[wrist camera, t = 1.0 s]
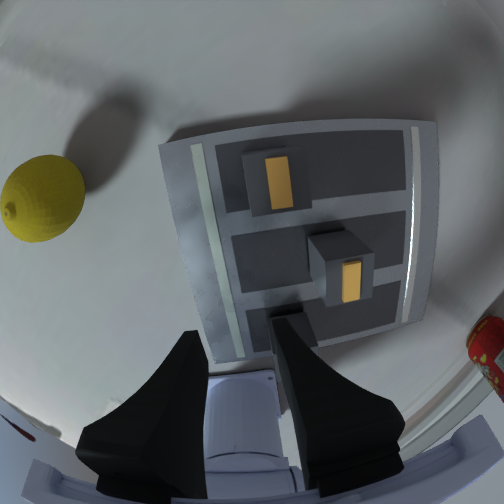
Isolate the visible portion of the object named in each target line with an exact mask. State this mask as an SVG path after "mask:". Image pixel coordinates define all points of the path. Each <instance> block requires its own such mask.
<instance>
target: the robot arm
mask: <svg viewBox="0 0 504 504" xmlns="http://www.w3.org/2000/svg"><path fill="white" fill-rule="evenodd" d="M272 327H273V334H274V341H275V348H276V355H277V361H278V367H279V372H280V376H281V379H282V382H283V386H284V389H285V393H286V396H287V399H288V403H289V406H290V409H291V413H292V417H293V422H294V428H295V433H296V439H297V444H298V450H299V456H300V462H301V467H302V470H300V469H299V468H298V467H297V466H289V462H288V457H283V450H282V443H281V437H280V430H279V424H278V421H279V420H281V411H280V405H279V398H278V391H277V385H276V378H275V372H274V370H271V369H269V370H262V371H255V372H248V373H240V374H231V375H222V376H212V377H209V369H208V359H207V357H206V354H205V351H204V348H203V345H202V342H201V339H200V336H199V333H198V330H193V331H184V333H183V334H182V335H181V337H180V338H179V340H178V341H177V343H176V344H175V346H174V347H173V349H172V350H171V351H170V353H169V354H168V356H167V357H166V358H165V360H164V361H163V363H162V364H161V365H160V366H159V368H158V369H157V370H156V371H155V373H154V374H153V375H152V376H151V377H150V379H149V380H148V381H147V382H146V383H145V384H144V385H143V386H142V387H141V388H140V389H139V390H138V391H137V392H136V393H135V394H133V395H132V396H131V397H130V398H129V399H127V400H126V401H125V402H124V403H123V404H121V405H120V406H119V407H117V408H116V409H115V410H113V411H112V412H110V413H109V414H107V415H106V416H104V417H102V418H101V419H99V420H97V421H95V422H93V423H92V424H90V425H88V426H86V427H84V428H83V431H82V433H81V436H80V439H79V442H78V445H77V448H76V450H75V453H76V455H77V457H78V459H79V460H81V461H82V462H83V463H84V464H85V465H86V466H88V467H89V468H90V469H91V470H93V471H94V472H96V473H97V474H98V475H99V478H98V482H97V484H93V483H90V482H86V481H82V480H79V479H76V478H73V477H70V476H66V475H64V474H62V473H61V472H60V471H59V470H57V469H56V468H55V467H53V466H51V465H49V464H47V463H44V462H41V461H39V460H37V459H33V462H32V464H31V467H30V470H29V473H28V476H27V479H26V482H25V485H24V488H23V491H22V494H21V497H22V498H23V499H25V500H26V501H28V502H30V503H31V504H439V503H441V502H443V501H445V500H446V499H448V498H450V497H451V496H453V495H455V494H456V493H458V492H460V491H461V490H463V489H464V488H466V487H467V486H469V485H470V484H472V483H473V482H475V481H476V480H477V479H479V478H480V477H481V476H482V475H484V474H485V473H486V472H488V471H489V470H490V469H491V468H492V467H494V466H495V465H496V464H497V463H498V462H499V461H501V460H502V459H503V458H504V450H503V449H502V447H501V445H500V443H499V442H498V440H497V438H496V437H495V435H494V433H493V432H492V430H491V428H490V427H489V425H488V423H487V422H486V420H485V419H484V417H483V416H482V415H479V416H477V417H476V418H474V419H472V420H471V421H469V422H468V423H466V424H464V425H463V426H461V427H460V428H459V429H458V430H457V431H456V432H454V434H453V435H452V437H451V439H449V440H447V441H445V442H443V443H442V444H440V445H438V446H436V447H434V448H432V449H430V450H428V451H426V452H424V453H421V454H419V455H417V456H415V457H413V458H410V459H408V460H406V461H403V462H402V460H401V457H400V455H399V453H398V452H399V451H400V447H399V445H398V442H397V440H398V439H399V437H400V435H401V433H402V432H403V430H404V427H405V421H404V419H403V417H402V415H401V413H400V412H399V410H398V409H397V407H396V406H395V405H394V403H393V402H392V401H391V400H389V399H386V398H383V397H381V396H378V395H376V394H373V393H371V392H369V391H367V390H365V389H363V388H361V387H359V386H358V385H356V384H355V383H353V382H351V381H350V380H348V379H346V378H345V377H343V376H342V375H340V374H339V373H338V372H336V371H335V370H334V369H332V368H331V367H330V366H329V365H327V364H326V363H325V362H324V361H323V360H322V359H320V358H319V357H318V356H317V355H316V354H315V353H314V352H313V351H312V350H311V349H310V348H309V346H308V345H307V344H306V343H305V342H304V341H303V340H302V338H301V337H300V336H299V335H298V333H297V332H296V331H295V329H294V328H293V327H292V325H291V323H290V322H289V320H288V319H287V318H286V317H284V318H279V319H273V320H272ZM205 407H206V408H205ZM204 415H205V423H204ZM203 426H204V439H203Z"/></svg>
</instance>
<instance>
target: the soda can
mask: <svg viewBox="0 0 504 504" xmlns="http://www.w3.org/2000/svg"><path fill="white" fill-rule="evenodd" d="M466 347H467V348H468V355H469V357H470V359H471V360H472V362H473V363H474V364H475V365H476V366H477V368H478V369H479V370H480V372H481V373H482V374H483V375H484V377H485V378H486V379H487V381H488V382H489V383H490V385H491V386H492V387H493V389H494V390H495V391H496V393H497V394H498V396H499V397H500V398H501V400H502V401H503V403H504V320H503V319H502V318H499V317H493V316H491V315H486V316H484V317H482V318H481V319H480V320H479V321H478V322H477V323H476V324H475V325H474V327H473V328H472V330H471V331H470V333H469V335H468V337H467V340H466Z"/></svg>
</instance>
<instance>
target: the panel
mask: <svg viewBox="0 0 504 504" xmlns="http://www.w3.org/2000/svg"><path fill="white" fill-rule="evenodd" d="M285 146H295V147H304V148H306V152H307V160H308V169H309V178H310V188H311V198H312V208H311V209H304V210H297V211H290V212H283V213H276V214H270V215H263V216H257V217H252V215H251V210H250V205H249V201H248V195H247V188H246V182H245V176H244V170H243V163H242V157H241V152H248V151H254V150H261V149H269V148H277V147H285ZM158 147H159V153H160V158H161V163H162V168H163V173H164V178H165V183H166V188H167V192H168V197H169V201H170V206H171V210H172V215H173V219H174V223H175V227H176V231H177V235H178V239H179V243H180V247H181V251H182V255H183V259H184V263H185V266H186V270H187V274H188V277H189V281H190V284H191V288H192V292H193V295H194V298H195V302H196V305H197V309H198V312H199V315H200V318H201V322H202V325H203V328H204V331H205V334H206V338H207V341H208V344H209V347H210V350H211V353H212V356H213V359H214V362H215V364H218V363H227V362H235V361H243V360H251V359H258V358H264V357H271V356H272V350H271V344H270V337H269V330H268V324H267V318H272V317H278V316H284V315H290V314H295V313H301V312H306V314H307V316H308V319H309V321H310V324H311V327H312V329H313V332H314V335H315V337H316V340H317V343H318V345H319V347H324V346H328V345H333V344H337V343H341V342H346V341H350V340H354V339H358V338H362V337H366V336H369V335H373V334H377V333H380V332H384V331H387V330H391V329H394V328H398V327H401V326H404V325H407V324H410V323H414V322H417V321H420V320H423V316H424V311H425V307H426V302H427V297H428V292H429V286H430V280H431V274H432V268H433V260H434V253H435V244H436V234H437V221H438V203H439V155H438V137H437V125H436V122H433V121H420V120H404V119H329V120H312V121H299V122H288V123H278V124H269V125H261V126H253V127H246V128H240V129H233V130H227V131H221V132H216V133H210V134H205V135H200V136H195V137H190V138H186V139H181V140H177V141H173V142H168V143H164V144H160V145H158ZM346 230H350V231H351V232H352V233H353V234H354V235H356V236H357V237H358V238H359V239H360V240H361V241H362V242H364V243H365V244H366V245H367V246H368V247H369V248H370V249H371V250H372V251H374V252H375V258H374V277H373V291H372V297H371V298H367V299H363V300H358V301H354V302H349V303H345V304H340V305H335V306H330V307H326V306H325V304H324V302H323V300H322V298H321V296H320V294H319V292H318V290H317V288H316V286H315V284H314V282H313V280H312V278H311V276H310V263H309V248H308V236H313V235H320V234H326V233H333V232H339V231H346Z"/></svg>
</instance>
